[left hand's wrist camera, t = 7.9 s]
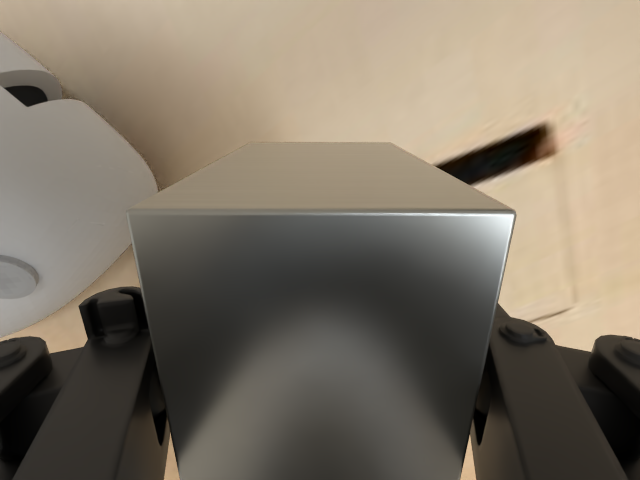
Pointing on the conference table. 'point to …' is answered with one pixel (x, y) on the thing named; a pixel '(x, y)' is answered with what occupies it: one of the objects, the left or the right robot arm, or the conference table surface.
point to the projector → (57, 192)
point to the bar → (320, 311)
